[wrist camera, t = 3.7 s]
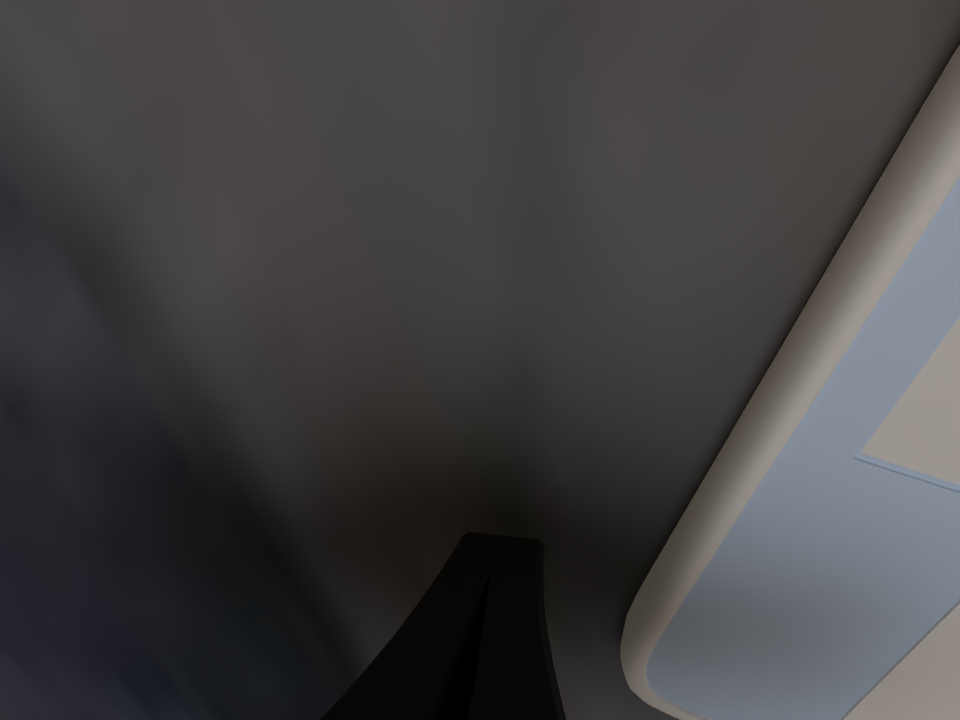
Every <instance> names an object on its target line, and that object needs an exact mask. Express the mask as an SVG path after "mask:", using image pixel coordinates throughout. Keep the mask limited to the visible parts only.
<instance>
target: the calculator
mask: <svg viewBox="0 0 960 720" xmlns="http://www.w3.org/2000/svg"><path fill="white" fill-rule="evenodd" d="M620 659H621V663H622V668H623V672H624V675H625V678H626V681H627V684H628V685H629V687H630V689H631V690H632V691H633V692H634V693H635V694H636V695H637V696H639V697H640V698H641V699H642V700H643V701H644V702H645V703H647V704H649V705H650V706H652V707H654V708H656V709H658V710H660V711H662V712H665V713H667V714H669V715H671V716H673V717H675V718H677V719H680V720H960V45H959V46H958V48H957V49H956V51H955V52H954V54H953V55H952V57H951V59H950V60H949V62H948V64H947V65H946V67H945V69H944V70H943V72H942V74H941V76H940V77H939V79H938V81H937V82H936V84H935V86H934V87H933V89H932V91H931V92H930V94H929V96H928V97H927V99H926V101H925V102H924V104H923V106H922V107H921V109H920V111H919V113H918V114H917V116H916V118H915V119H914V121H913V123H912V124H911V126H910V128H909V129H908V131H907V133H906V135H905V136H904V138H903V140H902V141H901V143H900V145H899V146H898V148H897V150H896V152H895V153H894V155H893V157H892V158H891V160H890V162H889V164H888V165H887V167H886V169H885V170H884V172H883V174H882V176H881V177H880V179H879V181H878V182H877V184H876V186H875V187H874V189H873V191H872V193H871V194H870V196H869V198H868V199H867V201H866V203H865V205H864V206H863V208H862V210H861V211H860V213H859V215H858V216H857V218H856V220H855V222H854V223H853V225H852V227H851V228H850V230H849V232H848V234H847V235H846V237H845V239H844V240H843V242H842V244H841V245H840V247H839V249H838V251H837V252H836V254H835V256H834V257H833V259H832V261H831V263H830V264H829V266H828V268H827V269H826V271H825V273H824V275H823V276H822V278H821V280H820V281H819V283H818V285H817V286H816V288H815V290H814V292H813V293H812V295H811V297H810V298H809V300H808V302H807V304H806V305H805V307H804V309H803V310H802V312H801V314H800V315H799V317H798V319H797V321H796V322H795V324H794V326H793V327H792V329H791V331H790V333H789V334H788V336H787V338H786V339H785V341H784V343H783V345H782V346H781V348H780V350H779V351H778V353H777V355H776V356H775V358H774V360H773V362H772V363H771V365H770V367H769V368H768V370H767V372H766V374H765V375H764V377H763V379H762V380H761V382H760V384H759V385H758V387H757V389H756V391H755V392H754V394H753V396H752V397H751V399H750V401H749V403H748V404H747V406H746V408H745V409H744V411H743V413H742V415H741V416H740V418H739V420H738V421H737V423H736V425H735V426H734V428H733V430H732V432H731V433H730V435H729V437H728V438H727V440H726V442H725V444H724V445H723V447H722V449H721V450H720V452H719V454H718V455H717V457H716V459H715V461H714V462H713V464H712V466H711V467H710V469H709V471H708V473H707V474H706V476H705V478H704V479H703V481H702V483H701V484H700V486H699V488H698V490H697V491H696V493H695V495H694V496H693V498H692V500H691V502H690V503H689V505H688V507H687V508H686V510H685V512H684V514H683V515H682V517H681V519H680V520H679V522H678V524H677V525H676V527H675V529H674V531H673V532H672V534H671V536H670V537H669V539H668V541H667V543H666V544H665V546H664V548H663V549H662V551H661V553H660V554H659V556H658V558H657V560H656V561H655V563H654V565H653V566H652V568H651V570H650V572H649V573H648V575H647V577H646V579H645V580H644V582H643V584H642V586H641V587H640V589H639V591H638V593H637V594H636V596H635V599H634V601H633V603H632V605H631V607H630V609H629V611H628V613H627V616H626V620H625V625H624V630H623V635H622V640H621V645H620Z"/></svg>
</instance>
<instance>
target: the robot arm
mask: <svg viewBox="0 0 960 720" xmlns="http://www.w3.org/2000/svg"><path fill="white" fill-rule="evenodd" d="M320 720H566V717H565V713H564V709H563V705H562V701H561V696H560V692H559V688H558V684H557V679H556V674H555V670H554V665H553V660H552V654H551V648H550V643H549V637H548V631H547V625H546V618H545V610H544V545H543V544H542V543H541V542H540V541H539V540H536V539H527V538H518V537H509V536H500V535H491V534H482V533H473V532H467V533H466V534H465V535H463V536H462V537H461V539H460V541H459V542H458V544H457V546H456V548H455V549H454V551H453V553H452V554H451V556H450V557H449V559H448V561H447V562H446V564H445V565H444V567H443V568H442V570H441V571H440V573H439V574H438V576H437V577H436V579H435V580H434V582H433V583H432V585H431V586H430V588H429V589H428V591H427V592H426V593H425V595H424V596H423V598H422V599H421V600H420V602H419V603H418V604H417V606H416V607H415V608H414V610H413V611H412V612H411V614H410V615H409V616H408V618H407V619H406V620H405V622H404V623H403V624H402V626H401V627H400V628H399V630H398V631H397V632H396V634H395V635H394V636H393V637H392V639H391V640H390V641H389V642H388V643H387V645H386V646H385V647H384V648H383V649H382V651H381V652H380V653H379V654H378V655H377V657H376V658H375V659H374V660H373V661H372V663H371V664H370V665H369V666H368V667H367V669H366V670H365V671H364V672H363V673H362V675H361V676H360V677H359V678H358V679H357V680H356V681H355V683H354V684H353V685H352V686H351V687H350V688H349V689H348V690H347V691H346V693H345V694H344V695H343V696H342V697H341V698H340V699H339V700H338V701H337V702H336V703H335V704H334V705H333V706H332V707H331V709H330V710H329V711H328V712H327V713H326V714H325V715H324V716H323V717H322V718H321V719H320Z"/></svg>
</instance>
